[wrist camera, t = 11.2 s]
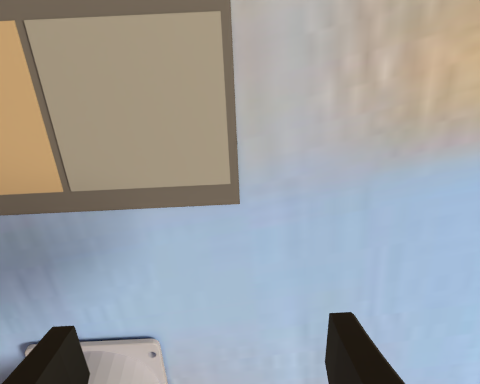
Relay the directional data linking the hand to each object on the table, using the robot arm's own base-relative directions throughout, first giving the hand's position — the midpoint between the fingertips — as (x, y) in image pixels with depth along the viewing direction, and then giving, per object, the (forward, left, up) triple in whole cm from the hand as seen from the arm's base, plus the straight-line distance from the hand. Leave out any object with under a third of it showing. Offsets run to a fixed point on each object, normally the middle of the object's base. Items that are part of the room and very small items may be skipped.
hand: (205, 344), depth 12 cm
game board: (+4, +11, -9) cm, 15 cm away
